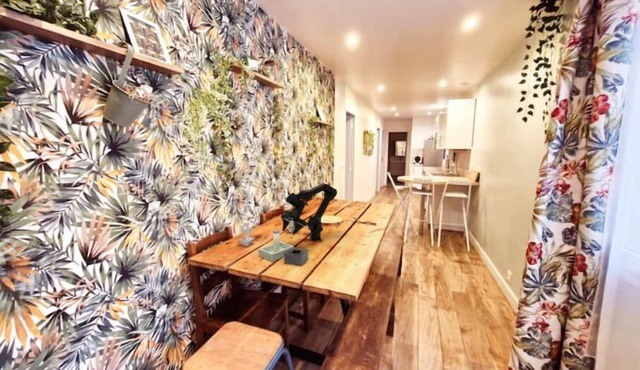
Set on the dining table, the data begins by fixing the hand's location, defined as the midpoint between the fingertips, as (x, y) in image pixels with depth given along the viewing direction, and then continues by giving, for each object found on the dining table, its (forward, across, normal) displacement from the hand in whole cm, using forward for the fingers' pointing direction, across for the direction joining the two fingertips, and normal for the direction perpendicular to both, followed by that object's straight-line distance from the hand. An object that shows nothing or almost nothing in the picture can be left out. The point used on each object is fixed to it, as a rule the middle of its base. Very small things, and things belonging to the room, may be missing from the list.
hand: (287, 232), depth 155 cm
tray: (+14, +1, -3) cm, 14 cm away
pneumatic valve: (-4, -22, +26) cm, 35 cm away
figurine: (+16, -24, -5) cm, 30 cm away
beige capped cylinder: (+13, +1, -3) cm, 13 cm away
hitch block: (+12, +16, -1) cm, 20 cm away
